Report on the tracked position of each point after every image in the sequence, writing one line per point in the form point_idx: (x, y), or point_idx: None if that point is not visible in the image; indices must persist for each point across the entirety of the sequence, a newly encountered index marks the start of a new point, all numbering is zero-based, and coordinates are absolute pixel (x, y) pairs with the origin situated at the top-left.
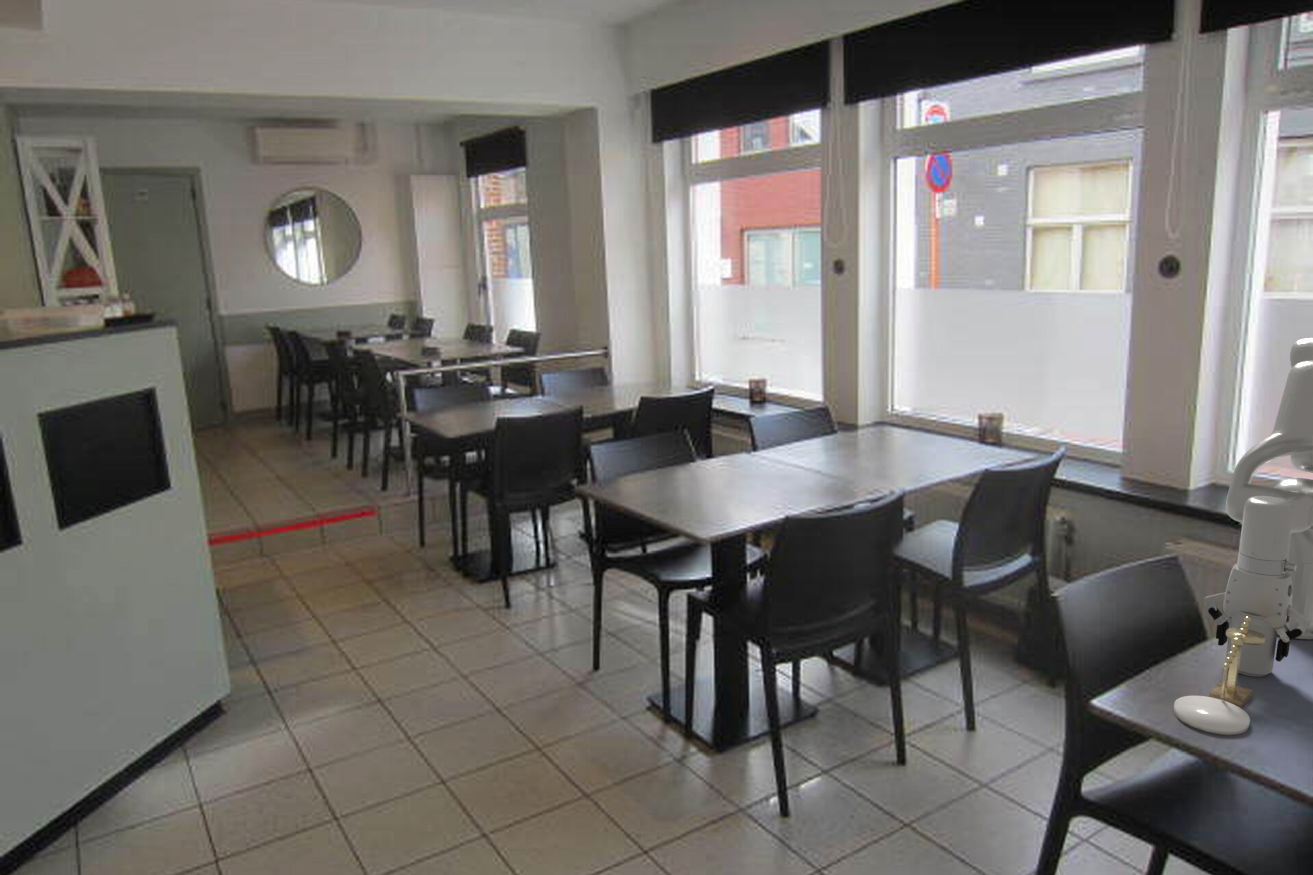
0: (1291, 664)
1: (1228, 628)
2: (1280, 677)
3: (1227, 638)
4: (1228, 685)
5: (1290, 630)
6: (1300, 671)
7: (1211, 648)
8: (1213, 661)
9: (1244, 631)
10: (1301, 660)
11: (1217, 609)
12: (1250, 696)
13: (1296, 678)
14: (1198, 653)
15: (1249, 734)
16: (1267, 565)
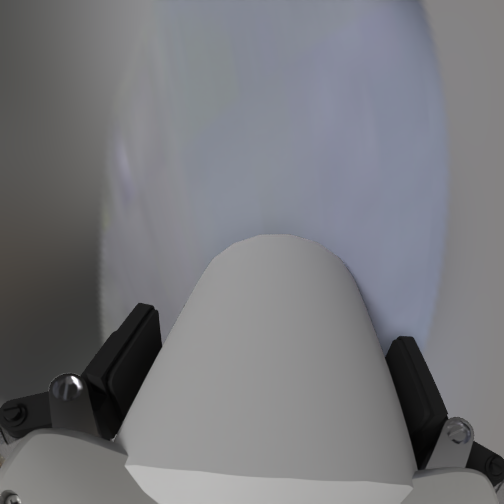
0: (416, 149)
1: (127, 360)
2: (379, 304)
3: (152, 318)
4: None
5: (465, 458)
6: (442, 206)
7: (122, 179)
8: (165, 299)
9: None
10: (439, 85)
11: (28, 433)
12: None
13: (425, 279)
14: (110, 259)
15: None
16: None
